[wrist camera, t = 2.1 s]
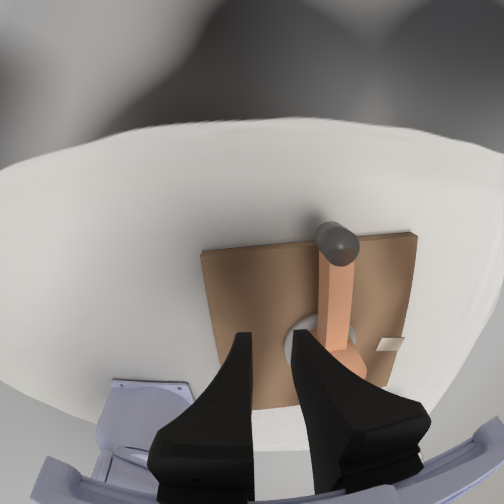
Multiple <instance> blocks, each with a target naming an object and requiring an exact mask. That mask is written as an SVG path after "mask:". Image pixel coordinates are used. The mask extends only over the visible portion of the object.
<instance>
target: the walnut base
mask: <svg viewBox="0 0 504 504" xmlns="http://www.w3.org/2000/svg"><path fill="white" fill-rule="evenodd" d="M357 238H358V240H359V244H360V250H359V254H358V256H357V258H356V259H355V264H354V280H353V293H352V304H351V314H350V323H349V332H348V334H349V336H350V338H351V340H352V342H353V343H354V345H355V347H356V349H357V351H358V352H359V354H360V356H361V358H362V360H363V361H364V363H365V365H366V368H367V374H366V378H365V380H366V381H368V382H370V383H371V384H373V385H375V386H377V387H379V388H381V387H384V386H387V383H388V380H389V377H390V374H391V371H392V367H393V364H394V361H395V357H396V354H397V351H398V350H399V348H400V346H401V344H402V342H403V340H404V337H401V335H402V331H403V326H404V322H405V317H406V313H407V308H408V303H409V297H410V292H411V286H412V280H413V273H414V266H415V258H416V250H417V240H418V236H417V235H415V234H413V233H411V232H406V233H395V234H383V235H371V236H360V237H357ZM200 257H201V263H202V269H203V276H204V281H205V287H206V293H207V299H208V304H209V310H210V315H211V320H212V326H213V331H214V336H215V341H216V346H217V351H218V355H219V360H220V365H221V367H222V365H223V363H224V361H225V359H226V357H227V355H228V353H229V351H230V349H231V347H232V344H233V341H234V338H235V334H236V333H237V332H252V350H253V396H252V410H260V409H270V408H279V407H287V406H295V405H300V403H299V399H298V396H297V393H296V389H295V386H294V382H293V377H292V370H291V364H290V362H291V351H292V339H293V330H297V329H307V330H308V331H310V330H312V329H314V328H317V326H318V299H319V249H318V248H317V246H316V244H315V241H304V242H293V243H282V244H271V245H260V246H250V247H239V248H229V249H218V250H208V251H202V254H201V256H200Z"/></svg>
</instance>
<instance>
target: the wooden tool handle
mask: <svg viewBox="0 0 504 504" xmlns="http://www.w3.org/2000/svg"><path fill="white" fill-rule="evenodd" d="M315 244H316V246H317V248H318V249H319V299H318V326H317V328H314V329H312V330H310V331H309V332H310V333H311V334H312V335H313V336H314V337H315V338H316V339H317V340H318V341H319V343H320V344H321V345H322V346H323V347H324V348H325V349H326V350H327V351H328V352H329V353H331V354H332V355H333V356H334V357H335V358H336V359H337V360H338V361H339V362H341V363H342V364H343V365H344V366H345V367H347V368H348V369H349V370H351V371H352V372H354V373H355V374H357V375H358V376H360V377H361V378H363V379H364V380H365V378H366V374H367V368H366V365H365V363H364V361H363V360H362V358H361V356H360V354H359V352H358V351H357V349H356V347H355V345H354V343H353V342H352V340H351V338H350V336H349V334H348V332H349V323H350V314H351V304H352V293H353V280H354V264H355V259H356V258H357V256H358V254H359V250H360V244H359V240H358V238H357V237H356V236H355V235H354V234H353V233H352V232H350V231H349V230H348V229H346V228H345V227H343V226H342V225H340V224H339V223H337V222H333V221H330V222H326V223H324V224H322V225H321V226H320V227H319V228H318V229H317V231H316V233H315Z"/></svg>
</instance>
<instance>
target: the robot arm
mask: <svg viewBox="0 0 504 504" xmlns="http://www.w3.org/2000/svg"><path fill="white" fill-rule="evenodd" d="M290 364H291V370H292V377H293V382H294V386H295V389H296V393H297V396H298V399H299V403H300V406H301V410H302V413H303V416H304V420H305V424H306V429H307V435H308V441H309V447H310V454H311V462H312V470H313V479H314V490H315V495H311V496H305V497H298V498H290V499H281V500H268V501H255V491H254V489H255V488H254V458H253V440H252V424H251V414H252V396H253V350H252V332H237V333H236V334H235V338H234V341H233V344H232V347H231V349H230V351H229V353H228V355H227V357H226V359H225V361H224V363H223V365H222V367H221V368H220V370H219V371H218V373H217V375H216V376H215V378H214V379H213V380H212V382H211V383H210V384H209V386H208V387H207V388H206V389H205V391H204V392H203V393H202V394H201V395H200V396H199V397H198V399H197V400H196V401H194V399H193V396H192V393H191V390H190V387H189V385H188V384H186V383H155V382H136V381H122V380H112V381H111V385H112V387H113V389H112V391H111V393H110V395H109V398H108V400H107V402H106V404H105V407H104V409H103V411H102V414H101V416H100V418H99V421H98V424H97V429H96V440H97V445H98V447H99V449H100V451H101V452H100V454H99V456H98V459H97V462H96V465H95V468H94V470H93V473H92V477H91V478H89V477H86V476H83V475H81V474H80V472H79V471H78V470H77V469H75V468H74V467H73V466H71V465H69V464H67V463H65V462H62V461H60V460H58V459H55V458H53V457H51V456H47V457H46V459H45V461H44V464H43V466H42V468H41V471H40V473H39V475H38V478H37V480H36V483H35V485H34V488H33V490H32V493H31V496H30V499H31V500H33V501H34V502H35V503H37V504H450V503H451V502H453V501H454V500H456V499H458V498H459V497H461V496H462V495H464V494H465V493H467V492H468V491H470V490H471V489H472V488H474V487H475V486H477V485H478V484H480V483H481V482H482V481H484V480H485V479H486V478H488V477H489V476H490V475H491V474H493V473H494V472H495V471H496V470H497V469H498V468H499V467H500V466H502V465H503V464H504V424H503V423H502V422H501V420H500V419H499V418H498V416H495V417H494V418H492V419H491V420H489V421H487V422H486V423H484V424H483V425H482V426H481V427H480V428H479V429H478V430H477V431H476V432H475V433H474V434H473V436H472V437H471V438H470V439H468V440H466V441H464V442H462V443H461V444H459V445H457V446H455V447H453V448H452V449H450V450H448V451H446V452H444V453H442V454H440V455H438V456H436V457H434V458H432V459H430V460H428V461H425V462H423V463H422V461H421V459H420V457H419V455H418V453H419V452H420V447H419V446H418V443H419V442H420V440H421V439H422V438H423V436H424V435H425V434H426V432H427V431H428V429H429V427H430V425H431V419H430V417H429V415H428V413H427V412H426V410H425V408H424V407H423V405H422V404H421V403H420V402H417V401H414V400H410V399H407V398H404V397H400V396H398V395H395V394H393V393H390V392H388V391H385V390H383V389H381V388H379V387H377V386H375V385H373V384H371V383H370V382H368V381H366V380H364V379H363V378H361V377H360V376H358V375H357V374H355V373H354V372H352V371H351V370H349V369H348V368H347V367H345V366H344V365H343V364H342V363H341V362H339V361H338V360H337V359H336V358H335V357H334V356H333V355H332V354H331V353H329V352H328V351H327V350H326V349H325V348H324V347H323V346H322V345H321V344H320V343H319V341H318V340H317V339H316V338H315V337H314V336H313V335H312V334H311V333H310V332H309V331H308V330H307V329H297V330H293V339H292V351H291V362H290Z"/></svg>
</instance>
